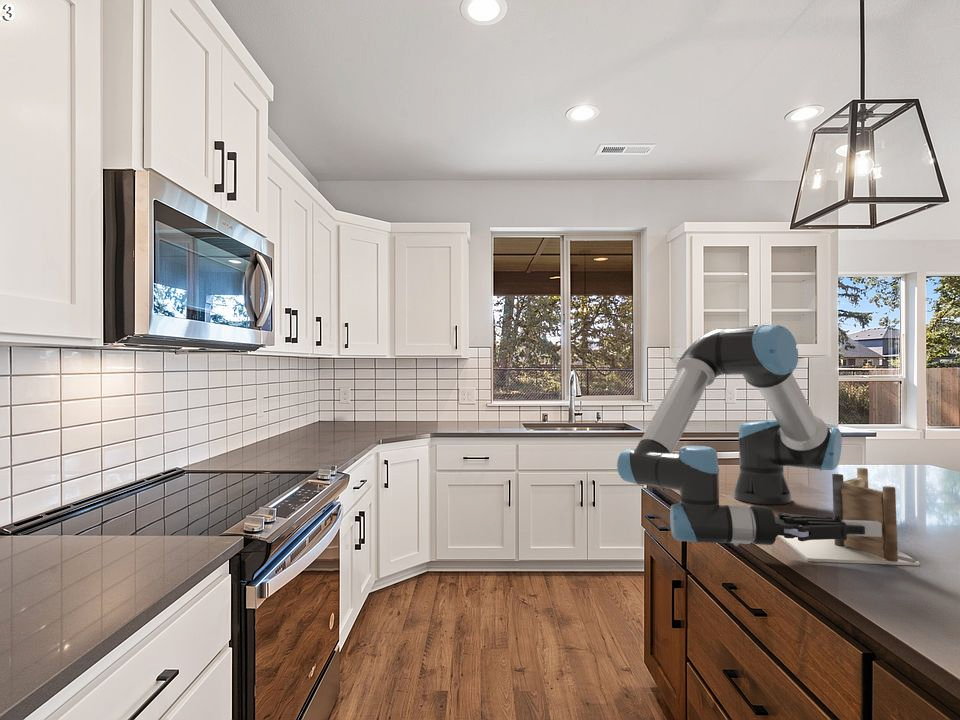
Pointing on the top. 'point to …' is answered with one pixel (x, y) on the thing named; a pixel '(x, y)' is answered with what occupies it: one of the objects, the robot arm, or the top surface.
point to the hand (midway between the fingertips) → (879, 528)
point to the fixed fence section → (837, 496)
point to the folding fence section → (872, 518)
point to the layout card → (840, 553)
